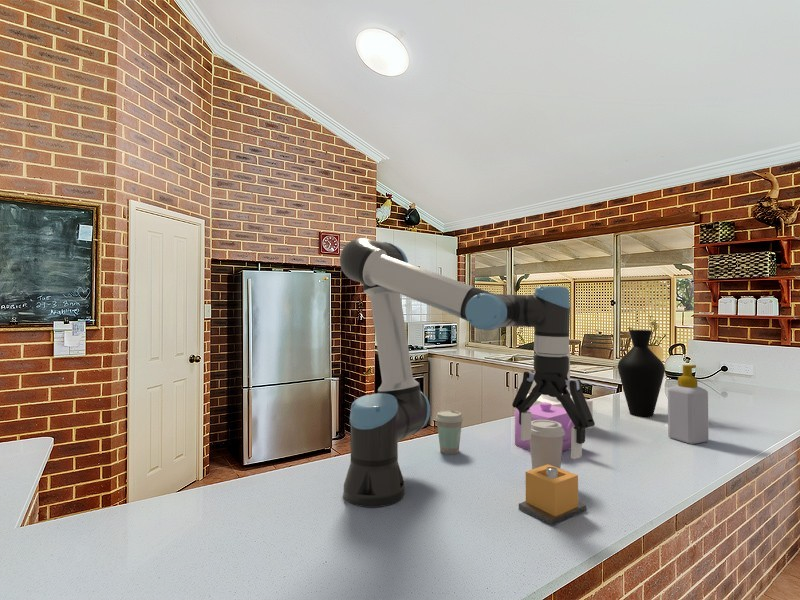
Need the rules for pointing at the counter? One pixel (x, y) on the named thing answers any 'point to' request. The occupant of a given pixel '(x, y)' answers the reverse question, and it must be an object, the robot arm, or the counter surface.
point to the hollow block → (552, 490)
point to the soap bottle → (688, 409)
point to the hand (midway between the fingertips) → (549, 448)
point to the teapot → (546, 413)
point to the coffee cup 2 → (546, 443)
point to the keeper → (546, 516)
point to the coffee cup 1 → (449, 431)
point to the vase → (641, 375)
